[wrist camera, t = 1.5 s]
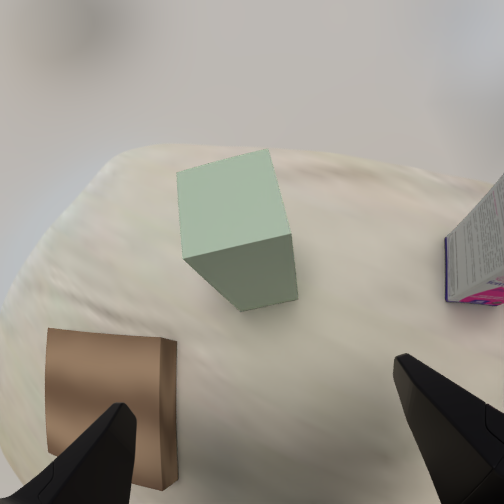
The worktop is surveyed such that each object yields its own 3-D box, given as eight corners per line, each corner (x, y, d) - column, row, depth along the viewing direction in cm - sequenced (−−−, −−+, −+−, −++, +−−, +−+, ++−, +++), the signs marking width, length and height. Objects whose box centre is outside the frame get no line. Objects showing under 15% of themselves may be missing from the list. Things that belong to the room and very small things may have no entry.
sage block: (298, 299, 23) (291, 233, 12) (240, 311, 23) (182, 258, 12) (285, 245, 25) (268, 148, 14) (231, 258, 25) (176, 172, 14)
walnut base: (178, 479, 19) (162, 491, 16) (68, 448, 21) (48, 452, 18) (176, 341, 23) (160, 337, 21) (68, 333, 25) (47, 327, 22)
